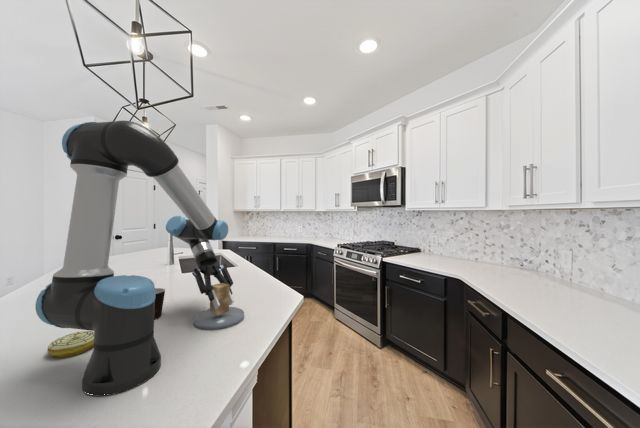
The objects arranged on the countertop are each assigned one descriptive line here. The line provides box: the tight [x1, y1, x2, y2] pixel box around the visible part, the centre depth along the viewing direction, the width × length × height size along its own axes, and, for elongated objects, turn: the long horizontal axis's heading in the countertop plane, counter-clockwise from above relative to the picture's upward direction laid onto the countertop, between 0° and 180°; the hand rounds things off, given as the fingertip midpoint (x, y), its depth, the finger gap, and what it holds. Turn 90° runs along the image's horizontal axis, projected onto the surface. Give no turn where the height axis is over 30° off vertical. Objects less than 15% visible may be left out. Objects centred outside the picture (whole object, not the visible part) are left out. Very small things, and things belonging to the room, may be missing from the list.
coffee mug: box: [154, 287, 166, 321], centre depth 94 cm, size 12×9×10 cm
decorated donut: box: [47, 330, 94, 358], centre depth 72 cm, size 10×11×4 cm
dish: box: [192, 306, 245, 331], centre depth 94 cm, size 18×18×2 cm
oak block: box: [209, 282, 231, 315], centre depth 94 cm, size 5×5×10 cm
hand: (224, 305), depth 92 cm, fingers closed on oak block, 5 cm apart
